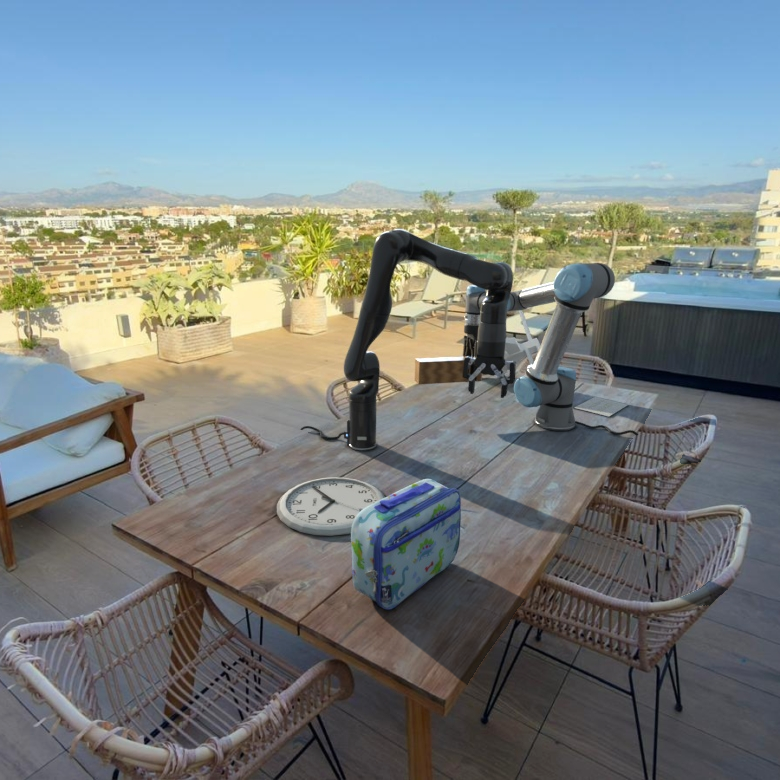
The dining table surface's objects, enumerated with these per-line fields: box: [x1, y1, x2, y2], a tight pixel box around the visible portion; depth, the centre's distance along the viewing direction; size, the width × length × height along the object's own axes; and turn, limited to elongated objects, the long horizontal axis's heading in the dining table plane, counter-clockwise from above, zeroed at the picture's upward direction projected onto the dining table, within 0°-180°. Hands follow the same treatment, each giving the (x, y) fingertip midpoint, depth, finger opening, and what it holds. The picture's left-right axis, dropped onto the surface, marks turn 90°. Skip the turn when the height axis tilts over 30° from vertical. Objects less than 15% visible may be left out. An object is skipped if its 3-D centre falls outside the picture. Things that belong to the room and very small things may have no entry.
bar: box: [414, 356, 483, 385], centre depth 217 cm, size 27×6×9 cm, turn 104°
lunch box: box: [350, 478, 462, 611], centre depth 110 cm, size 26×11×21 cm, turn 135°
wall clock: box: [276, 476, 386, 537], centre depth 142 cm, size 30×2×30 cm
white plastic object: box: [482, 310, 541, 377], centre depth 259 cm, size 37×45×31 cm
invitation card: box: [573, 396, 629, 418], centre depth 226 cm, size 21×1×15 cm
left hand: (487, 395), depth 146 cm, fingers open, 8 cm apart
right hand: (470, 378), depth 220 cm, fingers closed on bar, 6 cm apart
